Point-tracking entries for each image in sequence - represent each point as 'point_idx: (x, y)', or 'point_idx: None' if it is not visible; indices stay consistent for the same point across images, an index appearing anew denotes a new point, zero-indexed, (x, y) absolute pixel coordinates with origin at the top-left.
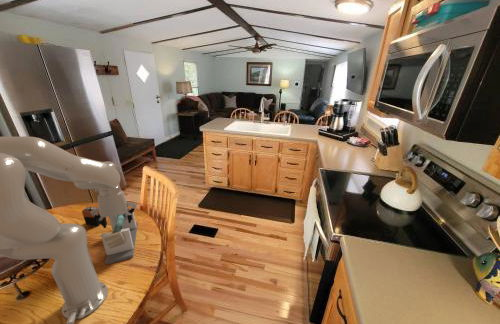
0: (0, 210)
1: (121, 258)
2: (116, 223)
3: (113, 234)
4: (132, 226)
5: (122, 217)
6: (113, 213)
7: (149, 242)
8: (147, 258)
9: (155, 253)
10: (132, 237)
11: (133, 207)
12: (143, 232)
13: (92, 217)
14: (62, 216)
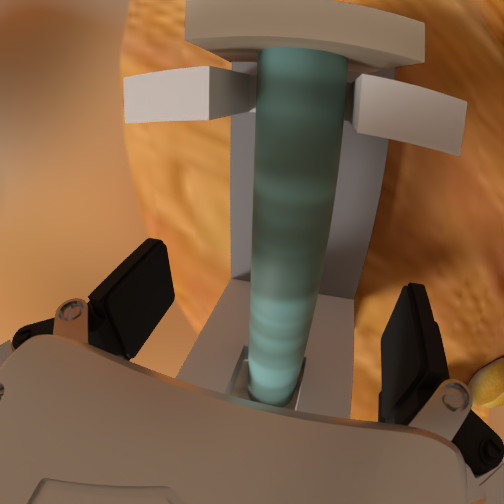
0: None
1: None
2: (298, 310)
3: (291, 10)
4: (243, 292)
5: (252, 362)
6: (186, 452)
7: (160, 130)
8: (167, 11)
9: (132, 38)
10: (245, 201)
11: (3, 360)
12: (199, 233)
13: None
14: None
